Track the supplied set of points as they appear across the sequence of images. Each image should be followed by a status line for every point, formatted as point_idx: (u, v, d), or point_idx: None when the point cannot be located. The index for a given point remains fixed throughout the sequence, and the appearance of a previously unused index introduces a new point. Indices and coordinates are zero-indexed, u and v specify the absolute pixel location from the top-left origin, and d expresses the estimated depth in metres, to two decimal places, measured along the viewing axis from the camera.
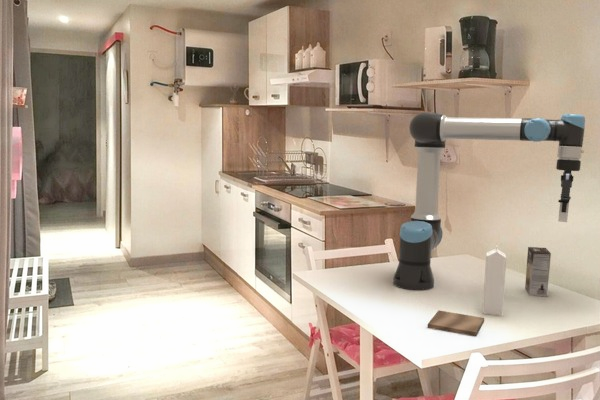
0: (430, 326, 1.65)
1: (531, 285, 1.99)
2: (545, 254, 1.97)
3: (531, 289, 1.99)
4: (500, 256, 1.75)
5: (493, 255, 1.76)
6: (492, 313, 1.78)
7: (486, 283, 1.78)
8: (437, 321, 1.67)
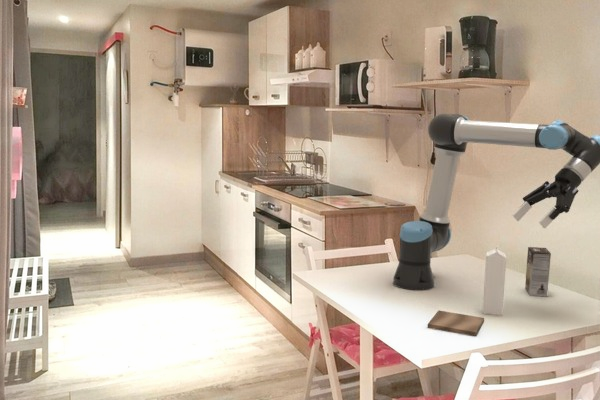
0: (430, 326, 1.65)
1: (531, 285, 1.99)
2: (545, 254, 1.97)
3: (531, 289, 1.99)
4: (500, 256, 1.75)
5: (493, 255, 1.76)
6: (492, 313, 1.78)
7: (486, 283, 1.78)
8: (437, 321, 1.67)
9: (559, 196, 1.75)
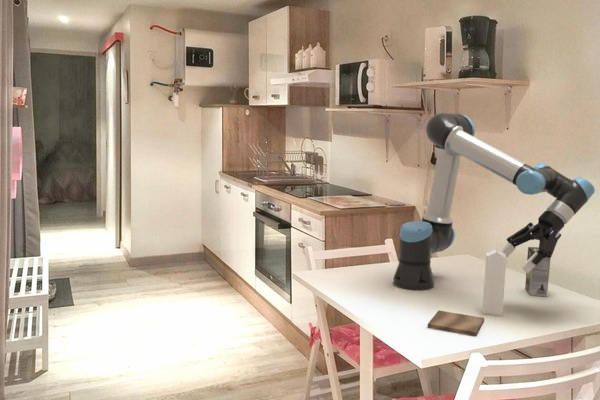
0: (430, 326, 1.65)
1: (531, 285, 1.99)
2: None
3: (531, 289, 1.99)
4: (500, 256, 1.75)
5: (493, 255, 1.76)
6: (492, 313, 1.78)
7: (486, 283, 1.78)
8: (437, 321, 1.67)
9: (542, 241, 1.75)
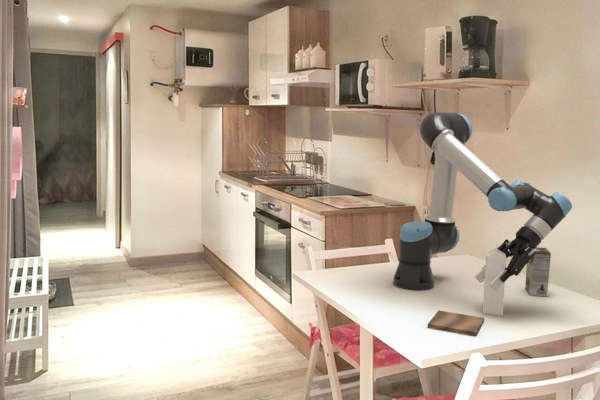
0: (430, 326, 1.65)
1: (531, 285, 1.99)
2: (545, 254, 1.97)
3: (531, 289, 1.99)
4: (500, 256, 1.75)
5: (493, 255, 1.76)
6: (492, 313, 1.78)
7: (486, 283, 1.78)
8: (437, 321, 1.67)
9: (514, 258, 1.76)
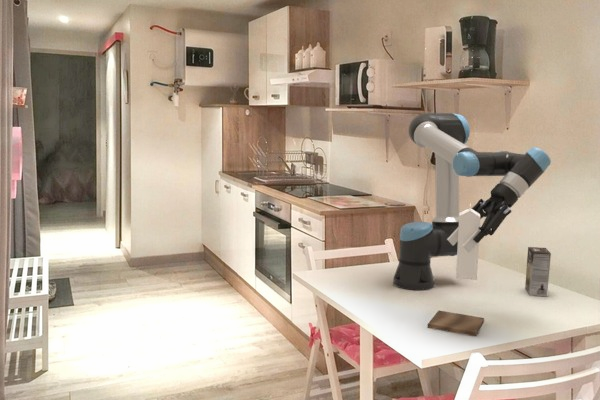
0: (430, 326, 1.65)
1: (531, 285, 1.99)
2: (545, 254, 1.97)
3: (531, 289, 1.99)
4: (474, 215, 1.62)
5: (466, 214, 1.62)
6: (466, 277, 1.64)
7: (459, 245, 1.64)
8: (437, 321, 1.67)
9: (488, 216, 1.62)
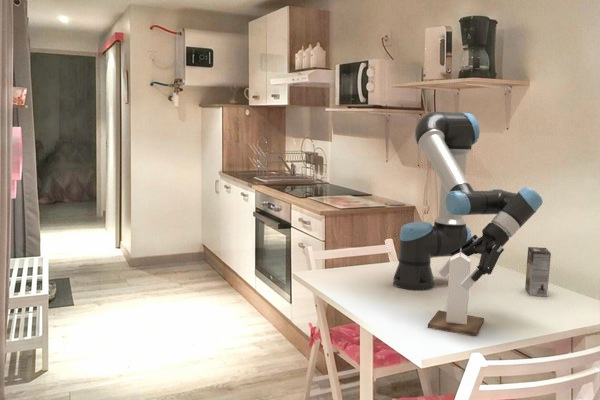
0: (430, 326, 1.65)
1: (531, 285, 1.99)
2: (545, 254, 1.97)
3: (531, 289, 1.99)
4: (464, 260, 1.63)
5: (456, 259, 1.64)
6: (456, 322, 1.66)
7: (449, 289, 1.65)
8: (437, 321, 1.67)
9: (483, 255, 1.62)
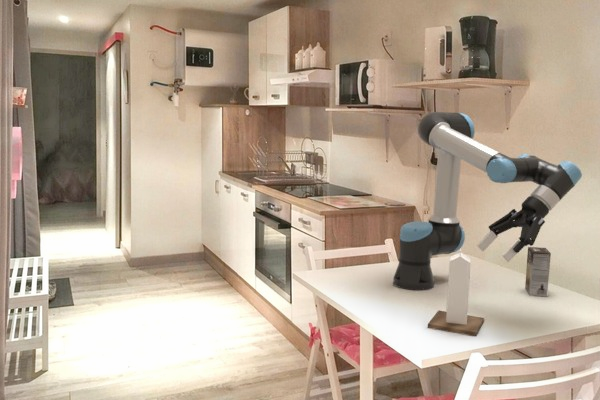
0: (430, 326, 1.65)
1: (531, 285, 1.99)
2: (545, 254, 1.97)
3: (531, 289, 1.99)
4: (464, 261, 1.63)
5: (456, 260, 1.64)
6: (456, 322, 1.66)
7: (449, 290, 1.65)
8: (437, 321, 1.67)
9: (524, 227, 1.64)
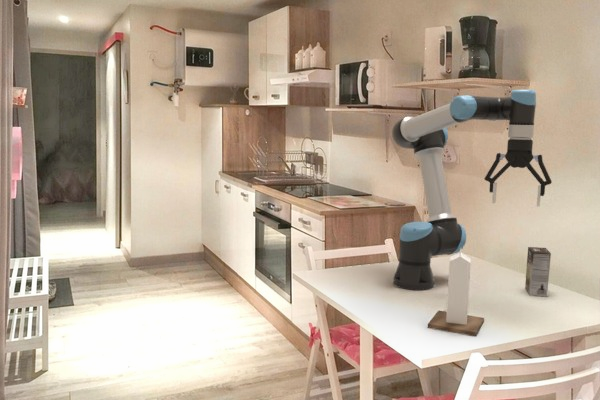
0: (430, 326, 1.65)
1: (531, 285, 1.99)
2: (545, 254, 1.97)
3: (531, 289, 1.99)
4: (464, 261, 1.63)
5: (456, 260, 1.64)
6: (456, 322, 1.66)
7: (449, 290, 1.65)
8: (437, 321, 1.67)
9: (534, 171, 1.77)
